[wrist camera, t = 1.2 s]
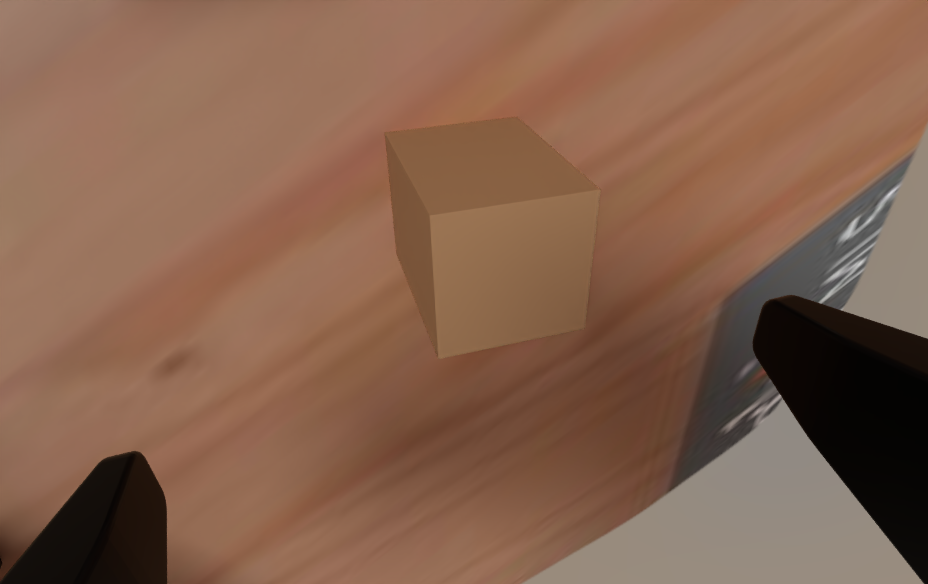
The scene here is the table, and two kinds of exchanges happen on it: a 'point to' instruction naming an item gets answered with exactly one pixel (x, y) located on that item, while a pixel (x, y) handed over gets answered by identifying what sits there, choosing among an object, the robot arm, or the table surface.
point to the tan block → (491, 233)
